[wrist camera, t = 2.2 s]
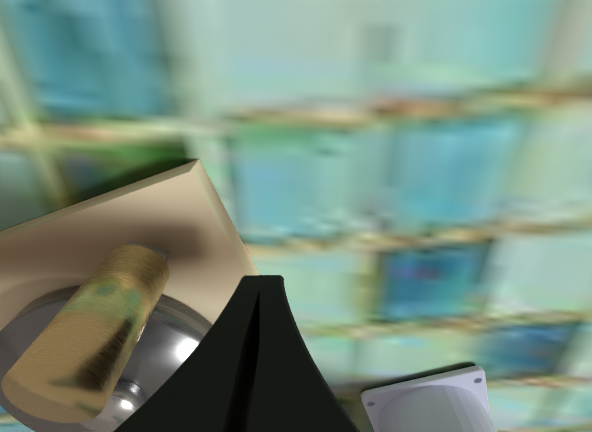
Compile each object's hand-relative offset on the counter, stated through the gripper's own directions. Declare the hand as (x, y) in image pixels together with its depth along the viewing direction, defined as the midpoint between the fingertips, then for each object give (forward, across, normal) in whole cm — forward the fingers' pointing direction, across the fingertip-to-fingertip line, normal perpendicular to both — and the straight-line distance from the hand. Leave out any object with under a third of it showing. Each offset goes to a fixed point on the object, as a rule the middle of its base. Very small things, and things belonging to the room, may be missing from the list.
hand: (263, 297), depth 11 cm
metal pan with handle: (+3, +8, +7) cm, 11 cm away
